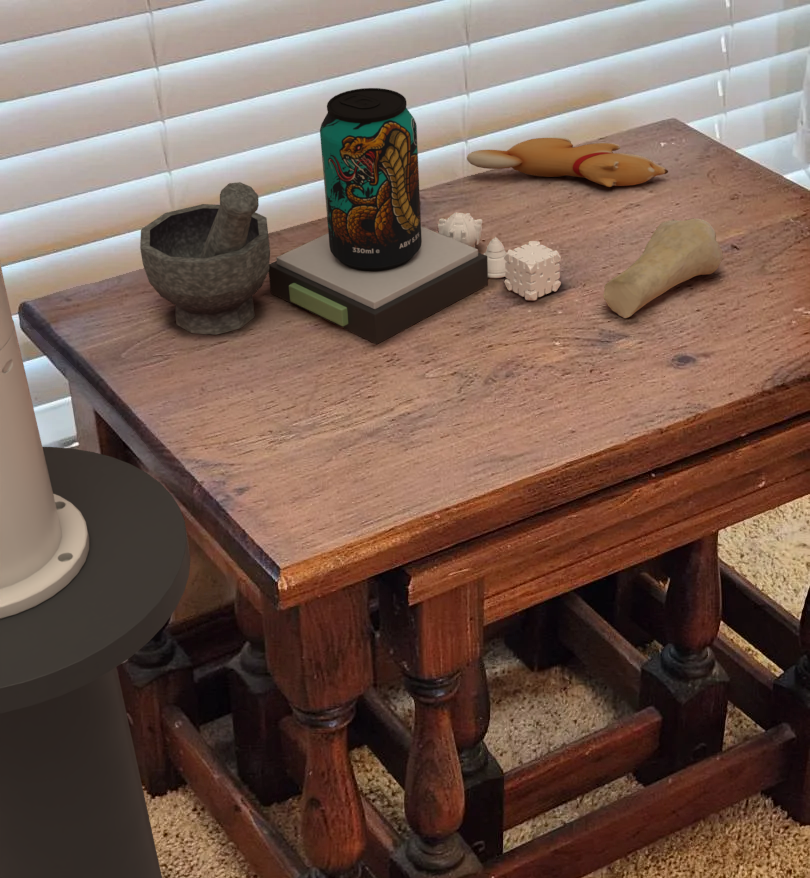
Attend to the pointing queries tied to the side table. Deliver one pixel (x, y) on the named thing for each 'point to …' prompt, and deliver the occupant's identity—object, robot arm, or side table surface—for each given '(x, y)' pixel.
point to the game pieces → (509, 258)
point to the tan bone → (665, 264)
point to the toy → (570, 161)
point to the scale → (379, 285)
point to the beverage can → (371, 179)
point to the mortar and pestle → (209, 260)
